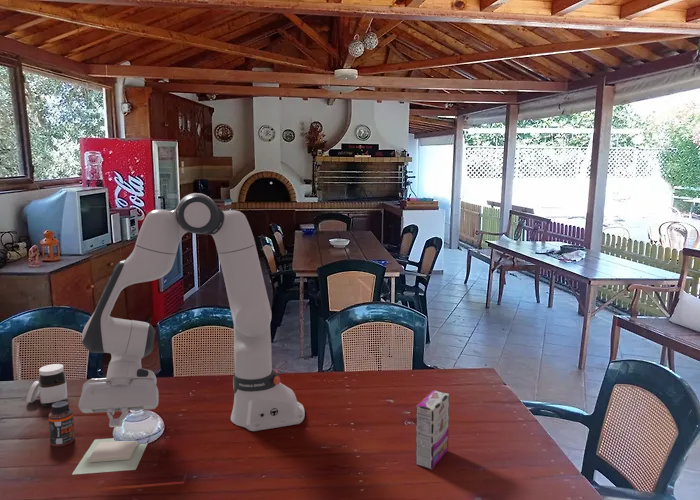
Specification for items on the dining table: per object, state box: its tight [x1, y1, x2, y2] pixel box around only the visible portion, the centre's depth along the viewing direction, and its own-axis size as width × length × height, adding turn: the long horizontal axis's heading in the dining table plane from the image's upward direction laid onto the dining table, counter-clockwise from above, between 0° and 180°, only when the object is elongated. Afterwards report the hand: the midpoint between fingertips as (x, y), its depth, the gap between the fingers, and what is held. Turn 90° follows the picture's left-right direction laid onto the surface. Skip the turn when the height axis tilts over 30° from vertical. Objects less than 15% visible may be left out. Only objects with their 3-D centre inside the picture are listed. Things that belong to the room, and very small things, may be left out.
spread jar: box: [26, 363, 68, 407], centre depth 167 cm, size 12×11×12 cm
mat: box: [71, 437, 149, 476], centre depth 136 cm, size 15×17×1 cm
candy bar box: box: [415, 389, 450, 470], centre depth 135 cm, size 11×5×16 cm, turn 148°
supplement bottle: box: [48, 400, 76, 448], centre depth 142 cm, size 6×6×11 cm
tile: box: [89, 441, 137, 463], centre depth 136 cm, size 10×1×8 cm
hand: (115, 426), depth 138 cm, fingers closed
